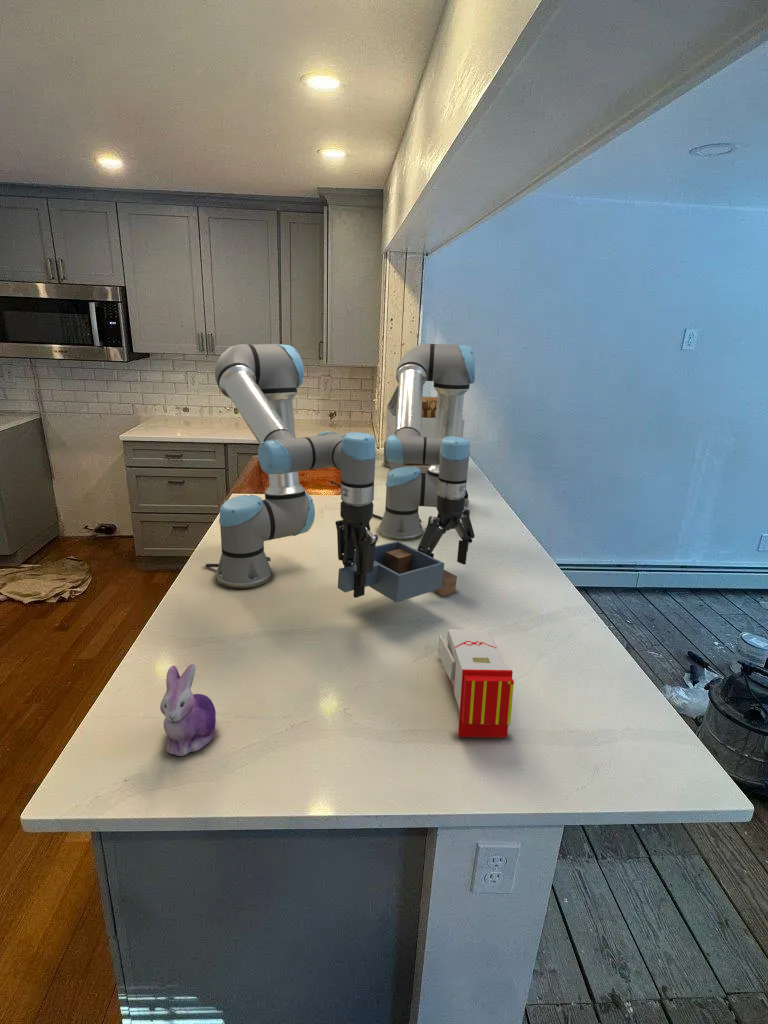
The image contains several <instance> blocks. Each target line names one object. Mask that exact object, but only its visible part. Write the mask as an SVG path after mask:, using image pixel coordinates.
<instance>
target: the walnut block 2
mask: <svg viewBox="0 0 768 1024" xmlns="http://www.w3.org/2000/svg"><path fill="white" fill-rule="evenodd" d="M457 579H458V576H457V575H456V574H454V573H452V572H450V571H448V570H446V569H444V571H443V578H442V585H441V588H440V589H437V590H434V591H432V592H433V593H435V594H437V595H439V596H441V597H443V598H444V597H446V596H448V595H451V594H453V593H456V590H457V589H456V588H457Z"/></svg>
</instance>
